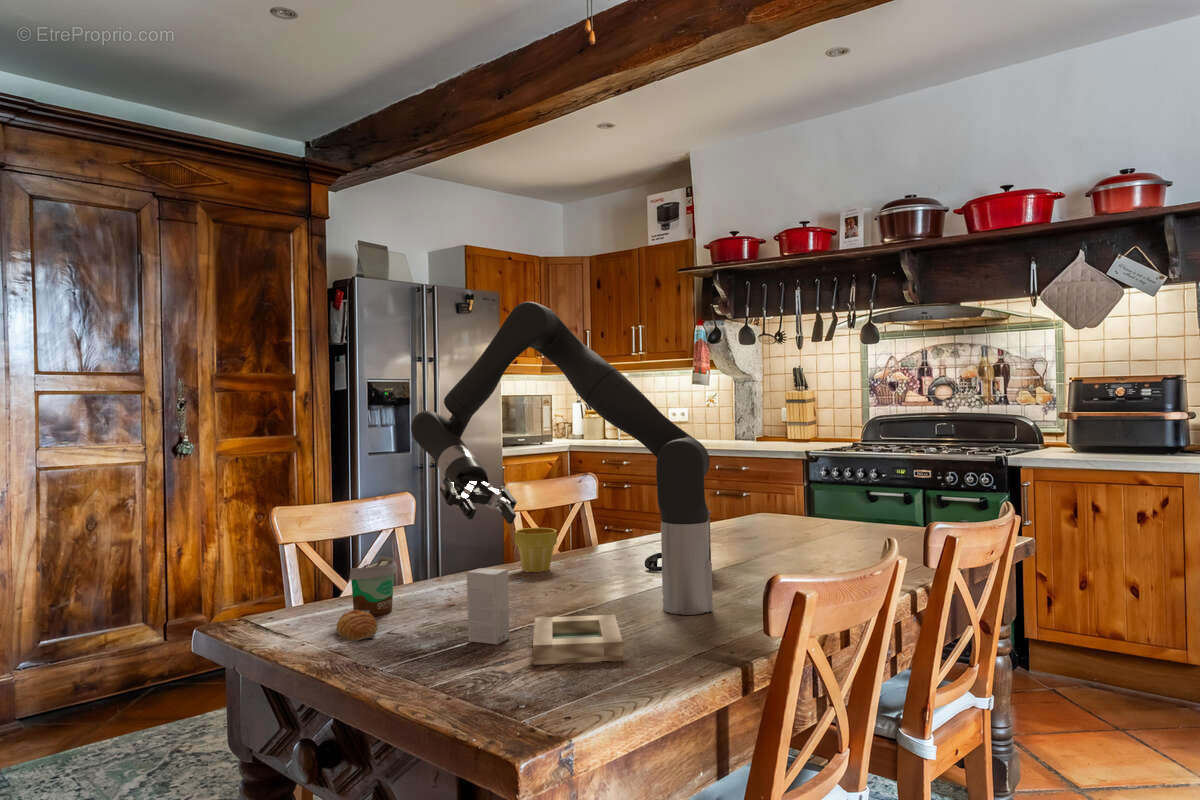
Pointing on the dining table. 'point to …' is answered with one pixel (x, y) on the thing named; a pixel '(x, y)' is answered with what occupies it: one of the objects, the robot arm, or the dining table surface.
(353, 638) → the pastry
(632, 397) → the robot arm
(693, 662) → the dining table surface
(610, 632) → the holder
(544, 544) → the plant pot
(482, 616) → the skincare box
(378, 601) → the food container
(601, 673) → the dining table surface
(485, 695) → the dining table surface
